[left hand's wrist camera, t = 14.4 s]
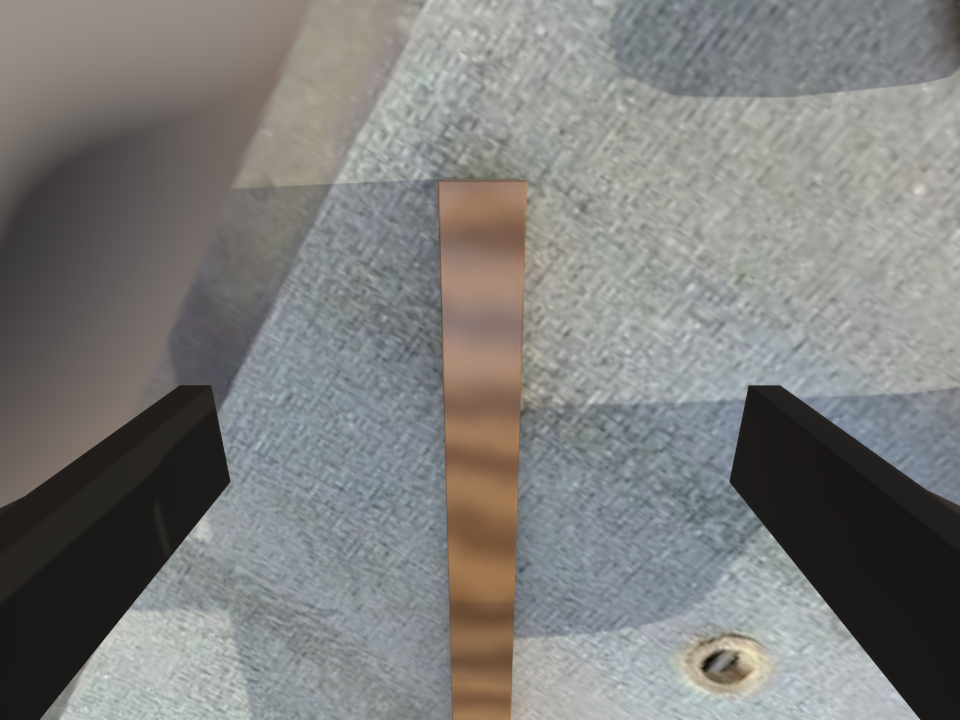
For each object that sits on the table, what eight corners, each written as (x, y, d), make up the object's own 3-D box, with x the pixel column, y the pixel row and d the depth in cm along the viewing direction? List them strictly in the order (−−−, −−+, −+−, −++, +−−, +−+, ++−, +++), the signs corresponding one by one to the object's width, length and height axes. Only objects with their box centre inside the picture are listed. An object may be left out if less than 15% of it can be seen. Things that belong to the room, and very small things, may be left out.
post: (446, 178, 36) (437, 180, 28) (517, 178, 36) (527, 180, 28) (460, 806, 61) (457, 898, 53) (502, 806, 61) (505, 898, 53)
